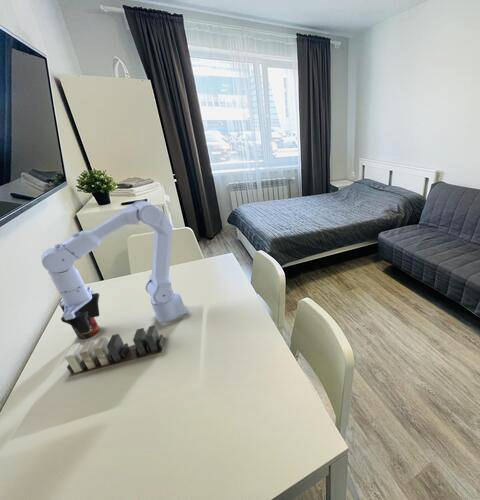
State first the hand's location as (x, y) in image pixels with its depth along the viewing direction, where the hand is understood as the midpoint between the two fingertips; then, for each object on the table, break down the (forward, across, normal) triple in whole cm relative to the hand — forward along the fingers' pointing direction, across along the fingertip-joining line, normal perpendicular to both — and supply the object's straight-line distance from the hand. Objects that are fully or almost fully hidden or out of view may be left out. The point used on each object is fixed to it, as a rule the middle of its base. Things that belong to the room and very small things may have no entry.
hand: (90, 323), depth 84 cm
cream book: (+9, +7, -3) cm, 12 cm away
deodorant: (+11, -9, -7) cm, 16 cm away
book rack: (+10, +7, +7) cm, 14 cm away
